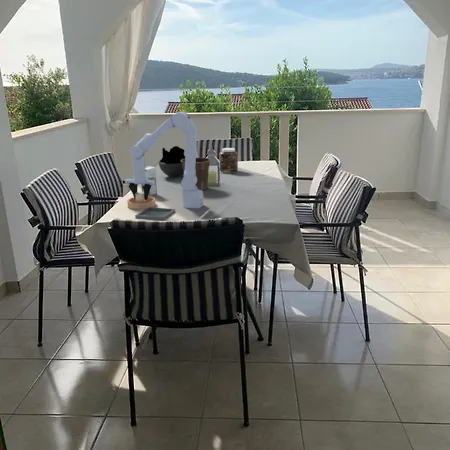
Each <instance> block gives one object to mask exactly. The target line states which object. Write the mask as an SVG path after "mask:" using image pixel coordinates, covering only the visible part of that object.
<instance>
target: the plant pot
mask: <svg viewBox="0 0 450 450" xmlns="http://www.w3.org/2000/svg"><path fill="white" fill-rule="evenodd" d="M181 162H182V168H183V171H185V159H182V160H181ZM210 162H211V158H208V157H196V163H195V170H196V177H197V183H196V184H195V185H196V186H197V189H199V190H202V191H206V190H207V189H208V187H209V170H210Z"/></svg>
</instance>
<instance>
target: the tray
mask: <svg viewBox="0 0 450 450" xmlns="http://www.w3.org/2000/svg"><path fill="white" fill-rule="evenodd" d="M174 213H176V208H166V207H156V206H154V207H148V208H146V209H142V210H141V211H140V212H139V213H137V214H135V219H142V220H153V221H154V220H155V221H157V220H158V221H165V220H166V219H168V218H169V217H170V216H171V215H173V214H174Z"/></svg>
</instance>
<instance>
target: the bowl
mask: <svg viewBox="0 0 450 450" xmlns="http://www.w3.org/2000/svg"><path fill="white" fill-rule="evenodd" d="M126 201H127V208H129V209H131V210H145V209H146V208H148V207H156V206H157V205H156V204H157V203H156V198H155V197H153V196H148V199H147V200H146V202H144V203H136V199H134V196H133V197H130V198H128V199H127V200H126Z"/></svg>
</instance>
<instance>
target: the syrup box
mask: <svg viewBox="0 0 450 450" xmlns="http://www.w3.org/2000/svg"><path fill="white" fill-rule="evenodd" d="M156 171H157V169H156V167H154V166H149V165H148V166H145V174H146V179H147V180H154V181H155V185H152V186H151V188H150V191H149V195H148V196H149V197H152V196H154V195H157V194H158V193H157V192H158V191H157V189H158V188H157V187H158V186H157V172H156ZM140 186H141V192H144V190H143V187H142V186H144V185H143V184H140Z"/></svg>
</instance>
